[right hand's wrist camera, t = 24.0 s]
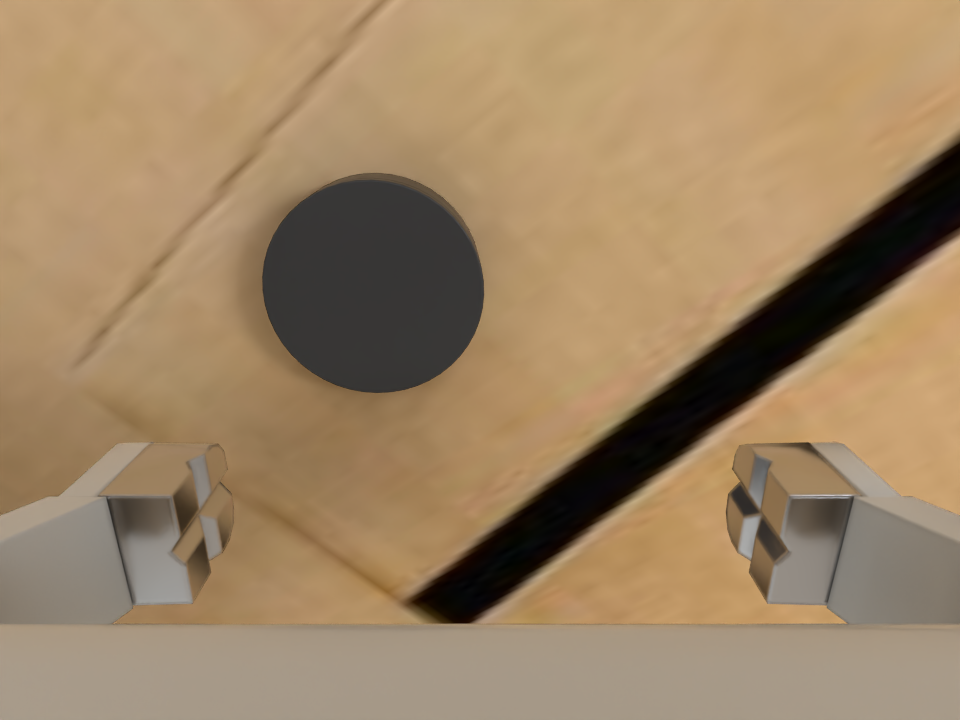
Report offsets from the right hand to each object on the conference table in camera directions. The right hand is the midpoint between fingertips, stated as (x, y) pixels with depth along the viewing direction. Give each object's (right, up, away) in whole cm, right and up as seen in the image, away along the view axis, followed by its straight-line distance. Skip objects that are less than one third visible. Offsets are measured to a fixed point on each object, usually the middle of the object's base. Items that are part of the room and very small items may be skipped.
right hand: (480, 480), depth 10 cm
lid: (-3, +4, +6) cm, 8 cm away
